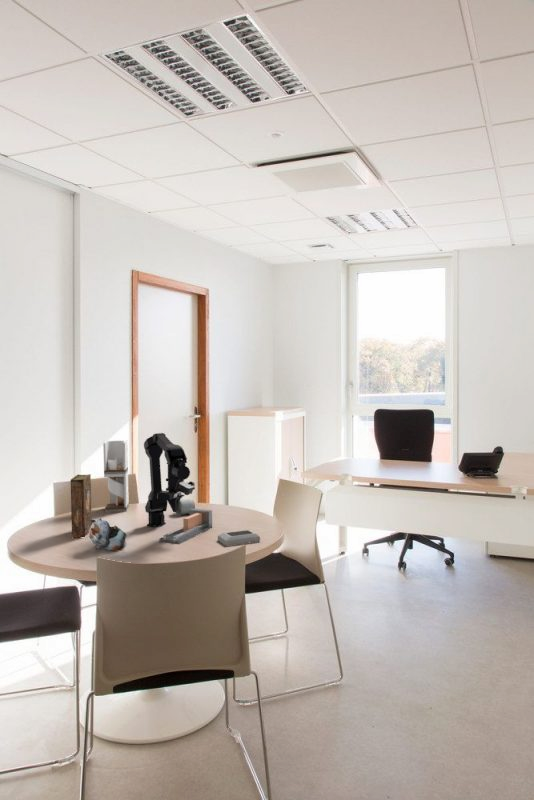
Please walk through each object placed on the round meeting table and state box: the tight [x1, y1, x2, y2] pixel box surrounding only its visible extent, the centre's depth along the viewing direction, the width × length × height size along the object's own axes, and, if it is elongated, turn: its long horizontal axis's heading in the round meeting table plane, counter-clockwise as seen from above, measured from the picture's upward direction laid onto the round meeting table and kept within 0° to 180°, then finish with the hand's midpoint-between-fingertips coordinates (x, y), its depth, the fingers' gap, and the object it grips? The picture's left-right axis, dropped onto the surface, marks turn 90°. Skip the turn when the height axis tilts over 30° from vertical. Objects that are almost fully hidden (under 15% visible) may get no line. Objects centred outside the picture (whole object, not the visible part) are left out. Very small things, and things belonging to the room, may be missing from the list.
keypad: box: [217, 529, 261, 547], centre depth 260 cm, size 10×4×15 cm
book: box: [70, 473, 93, 539], centre depth 275 cm, size 16×6×25 cm, turn 5°
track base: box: [158, 508, 213, 544], centre depth 272 cm, size 10×28×8 cm, turn 157°
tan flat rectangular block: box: [182, 513, 202, 532], centre depth 277 cm, size 2×12×6 cm, turn 157°
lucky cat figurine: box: [88, 518, 127, 552], centre depth 251 cm, size 15×12×14 cm
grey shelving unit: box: [102, 440, 130, 513], centre depth 324 cm, size 11×11×35 cm
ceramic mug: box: [175, 498, 196, 516], centre depth 313 cm, size 11×8×8 cm
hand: (174, 512), depth 270 cm, fingers closed
